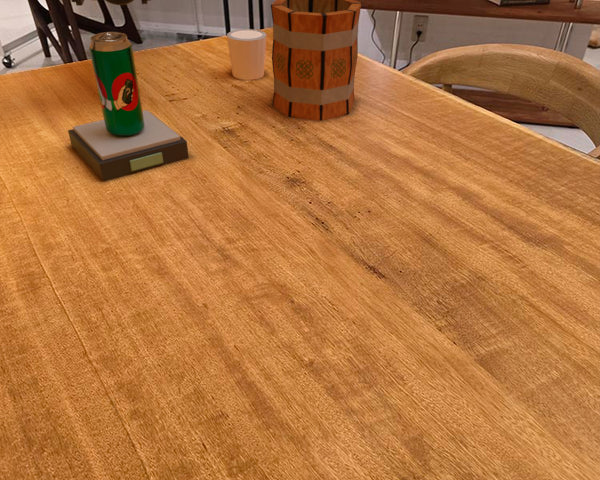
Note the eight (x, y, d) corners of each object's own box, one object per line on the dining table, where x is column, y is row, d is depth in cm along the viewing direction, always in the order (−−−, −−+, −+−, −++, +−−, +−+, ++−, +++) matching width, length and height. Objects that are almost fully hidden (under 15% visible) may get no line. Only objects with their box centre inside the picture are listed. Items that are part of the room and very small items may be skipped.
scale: (104, 183, 75) (99, 160, 73) (72, 148, 82) (66, 126, 80) (189, 159, 80) (187, 137, 78) (152, 128, 88) (148, 107, 86)
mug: (364, 119, 91) (372, 14, 82) (277, 123, 90) (276, 17, 80) (338, 76, 106) (344, -17, 97) (264, 78, 105) (261, -15, 95)
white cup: (233, 67, 109) (231, 27, 104) (270, 69, 108) (269, 29, 104) (225, 80, 104) (222, 38, 99) (263, 82, 103) (262, 40, 99)
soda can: (151, 125, 81) (136, 32, 73) (136, 140, 77) (119, 44, 69) (116, 121, 82) (98, 29, 74) (100, 136, 78) (79, 41, 70)
